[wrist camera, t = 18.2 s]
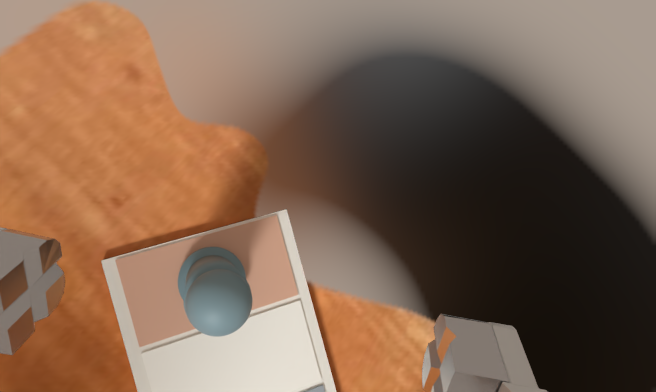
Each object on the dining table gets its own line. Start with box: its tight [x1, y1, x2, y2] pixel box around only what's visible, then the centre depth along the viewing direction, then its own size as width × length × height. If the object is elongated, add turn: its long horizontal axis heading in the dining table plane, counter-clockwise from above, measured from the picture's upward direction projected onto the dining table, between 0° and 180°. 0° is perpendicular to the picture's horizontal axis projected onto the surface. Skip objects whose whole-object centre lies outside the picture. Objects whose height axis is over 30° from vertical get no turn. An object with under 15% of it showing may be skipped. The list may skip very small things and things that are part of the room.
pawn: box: [178, 247, 252, 337], centre depth 32 cm, size 5×5×13 cm
